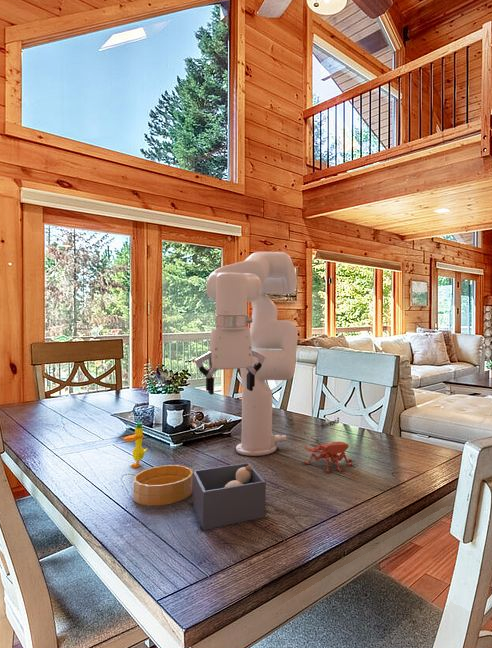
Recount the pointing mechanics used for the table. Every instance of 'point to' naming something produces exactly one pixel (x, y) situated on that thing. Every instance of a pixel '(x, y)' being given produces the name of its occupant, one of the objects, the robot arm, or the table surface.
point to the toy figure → (137, 444)
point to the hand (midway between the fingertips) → (230, 391)
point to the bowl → (162, 485)
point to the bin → (227, 496)
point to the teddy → (241, 476)
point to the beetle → (330, 450)
